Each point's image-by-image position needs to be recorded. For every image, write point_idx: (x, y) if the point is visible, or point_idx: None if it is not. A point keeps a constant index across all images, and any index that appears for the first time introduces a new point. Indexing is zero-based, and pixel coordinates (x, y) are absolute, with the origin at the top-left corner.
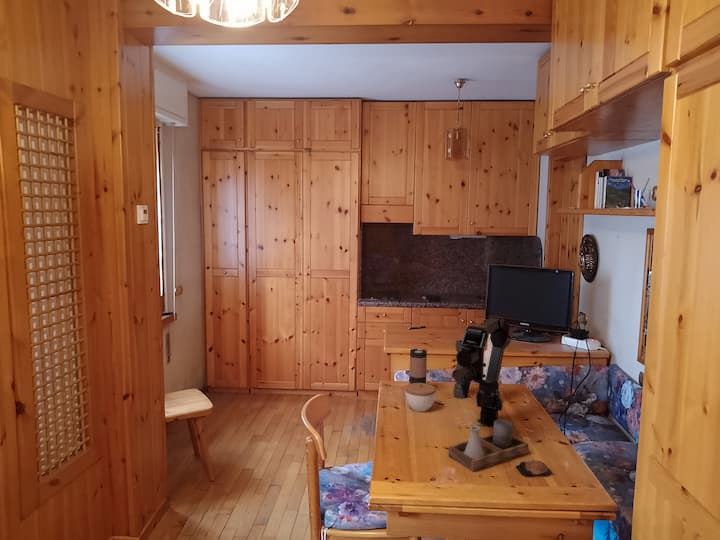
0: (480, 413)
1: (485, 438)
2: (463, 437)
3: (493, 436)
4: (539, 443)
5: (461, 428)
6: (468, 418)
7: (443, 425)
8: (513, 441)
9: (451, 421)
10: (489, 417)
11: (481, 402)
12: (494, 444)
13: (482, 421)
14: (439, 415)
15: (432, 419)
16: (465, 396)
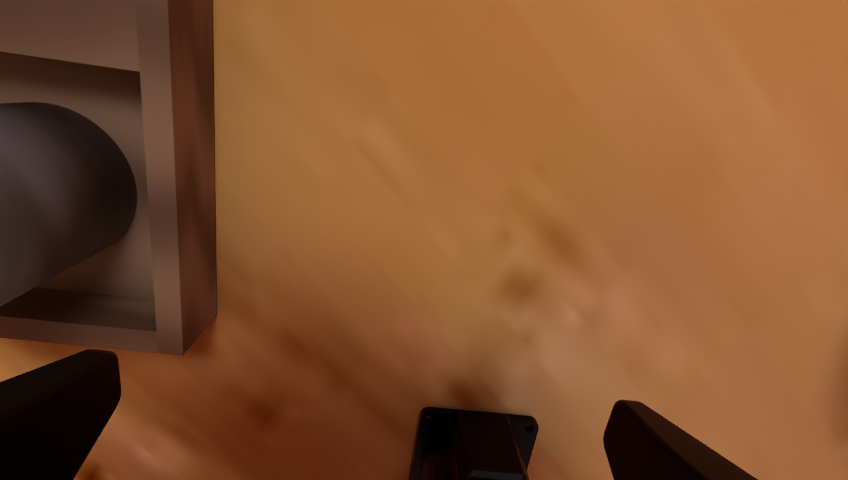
0: (518, 464)
1: (149, 127)
2: (422, 121)
3: (5, 133)
4: None
5: (541, 241)
6: (608, 405)
7: (680, 169)
8: (38, 303)
9: (672, 277)
10: (444, 472)
11: (44, 389)
12: (31, 110)
13: (482, 418)
14: (804, 288)
15: (814, 187)
16: (630, 434)
